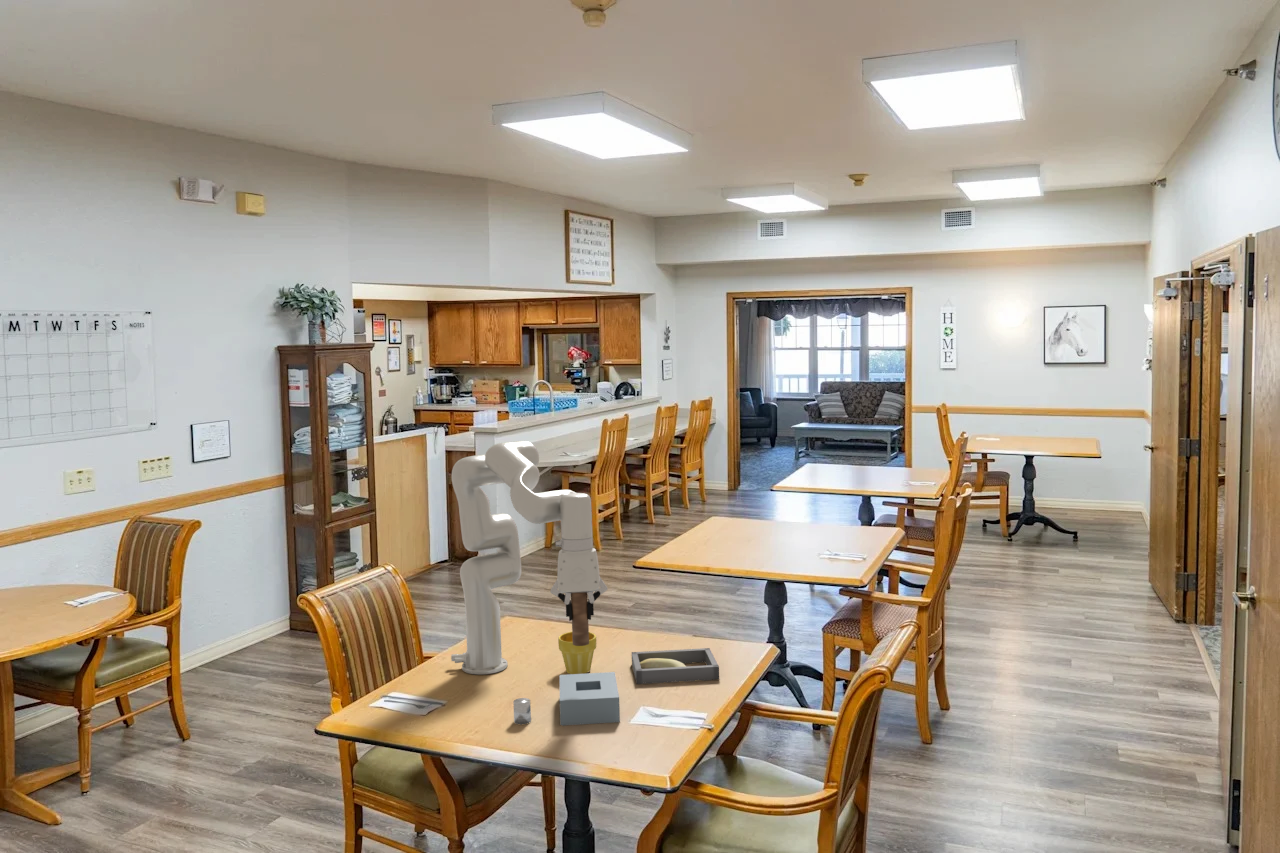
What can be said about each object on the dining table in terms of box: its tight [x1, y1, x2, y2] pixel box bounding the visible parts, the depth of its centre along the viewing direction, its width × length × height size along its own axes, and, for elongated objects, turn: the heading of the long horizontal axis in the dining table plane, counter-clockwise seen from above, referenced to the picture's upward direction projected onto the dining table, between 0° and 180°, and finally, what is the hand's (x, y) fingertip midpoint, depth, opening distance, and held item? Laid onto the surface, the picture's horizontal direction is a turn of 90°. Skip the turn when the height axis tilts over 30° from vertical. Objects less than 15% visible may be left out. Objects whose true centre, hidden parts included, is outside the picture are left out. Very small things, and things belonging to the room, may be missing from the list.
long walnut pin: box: [570, 592, 590, 646], centre depth 231 cm, size 4×4×15 cm
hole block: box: [559, 671, 621, 726], centre depth 232 cm, size 14×18×6 cm
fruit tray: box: [631, 647, 720, 685], centre depth 258 cm, size 22×16×4 cm
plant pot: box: [558, 631, 597, 674], centre depth 261 cm, size 10×10×10 cm
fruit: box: [640, 658, 687, 669], centre depth 258 cm, size 7×15×3 cm, turn 49°
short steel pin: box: [512, 697, 532, 726], centre depth 226 cm, size 4×4×5 cm
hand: (580, 618), depth 231 cm, fingers closed on long walnut pin, 4 cm apart
